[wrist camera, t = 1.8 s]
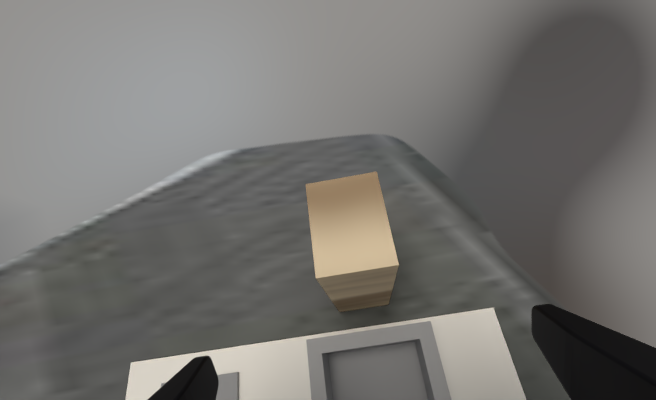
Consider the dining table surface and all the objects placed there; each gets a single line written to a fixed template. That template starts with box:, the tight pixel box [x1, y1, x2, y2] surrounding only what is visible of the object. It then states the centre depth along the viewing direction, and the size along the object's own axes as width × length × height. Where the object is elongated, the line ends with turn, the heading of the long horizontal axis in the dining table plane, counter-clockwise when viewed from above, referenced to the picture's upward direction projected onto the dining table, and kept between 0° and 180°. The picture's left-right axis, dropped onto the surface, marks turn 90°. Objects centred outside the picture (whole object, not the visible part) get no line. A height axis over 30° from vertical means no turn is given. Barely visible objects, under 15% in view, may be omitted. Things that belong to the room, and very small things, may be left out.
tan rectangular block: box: [306, 172, 399, 312], centre depth 18 cm, size 4×3×10 cm
